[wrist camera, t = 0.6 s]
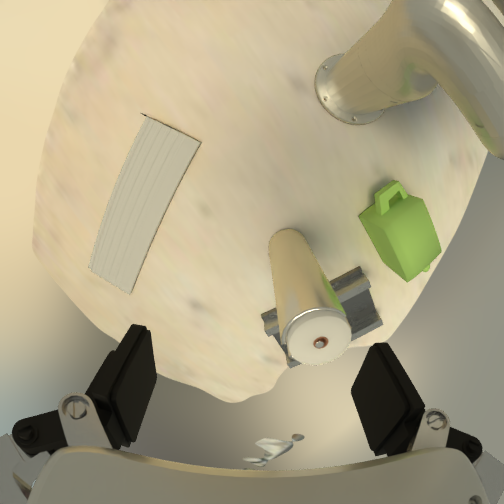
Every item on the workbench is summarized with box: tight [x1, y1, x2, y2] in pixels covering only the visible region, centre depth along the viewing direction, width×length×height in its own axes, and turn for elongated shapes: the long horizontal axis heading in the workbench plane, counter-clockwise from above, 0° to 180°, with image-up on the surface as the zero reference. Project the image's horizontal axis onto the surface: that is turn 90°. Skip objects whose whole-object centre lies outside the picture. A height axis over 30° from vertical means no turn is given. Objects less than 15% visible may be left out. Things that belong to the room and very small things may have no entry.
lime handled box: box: [359, 180, 441, 282], centre depth 39 cm, size 18×10×10 cm, turn 37°
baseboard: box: [88, 113, 201, 295], centre depth 42 cm, size 31×3×12 cm
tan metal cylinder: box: [268, 229, 352, 366], centre depth 33 cm, size 6×6×25 cm
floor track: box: [261, 267, 383, 368], centre depth 48 cm, size 20×13×4 cm, turn 119°
